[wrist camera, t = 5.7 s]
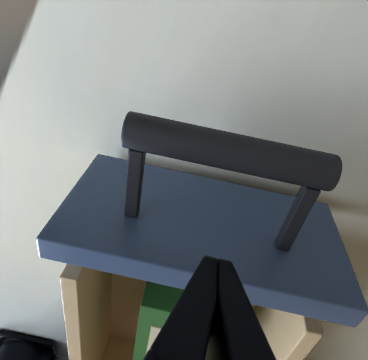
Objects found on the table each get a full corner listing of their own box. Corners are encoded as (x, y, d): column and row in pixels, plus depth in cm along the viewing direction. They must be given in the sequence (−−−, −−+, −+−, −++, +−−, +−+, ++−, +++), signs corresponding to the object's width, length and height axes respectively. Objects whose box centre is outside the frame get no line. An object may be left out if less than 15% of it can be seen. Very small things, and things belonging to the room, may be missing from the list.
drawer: (97, 66, 15) (16, 125, 9) (372, 124, 15) (455, 220, 9) (97, 324, 28) (64, 410, 23) (240, 356, 28) (241, 451, 23)
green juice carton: (204, 328, 24) (199, 389, 21) (145, 315, 25) (130, 373, 21) (232, 255, 19) (231, 319, 16) (157, 238, 19) (140, 298, 16)
